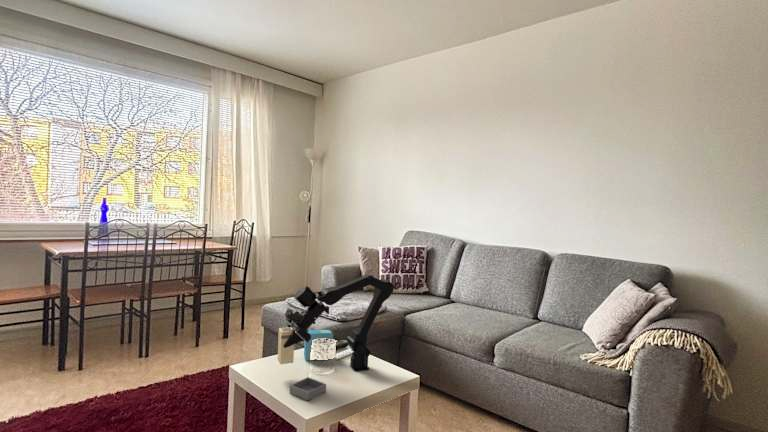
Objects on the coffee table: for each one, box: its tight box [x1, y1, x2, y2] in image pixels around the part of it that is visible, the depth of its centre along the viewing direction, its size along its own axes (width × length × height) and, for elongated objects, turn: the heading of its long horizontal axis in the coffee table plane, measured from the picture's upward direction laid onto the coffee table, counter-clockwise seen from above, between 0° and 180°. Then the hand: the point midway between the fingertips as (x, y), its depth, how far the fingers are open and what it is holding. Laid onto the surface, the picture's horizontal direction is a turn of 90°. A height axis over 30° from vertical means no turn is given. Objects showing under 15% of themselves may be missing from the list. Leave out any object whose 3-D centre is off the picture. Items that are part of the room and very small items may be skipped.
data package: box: [303, 329, 334, 362], centre depth 189 cm, size 12×4×12 cm, turn 105°
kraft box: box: [277, 327, 295, 365], centre depth 167 cm, size 5×5×13 cm
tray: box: [289, 377, 327, 402], centre depth 156 cm, size 9×9×3 cm
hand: (282, 344), depth 166 cm, fingers closed on kraft box, 5 cm apart
